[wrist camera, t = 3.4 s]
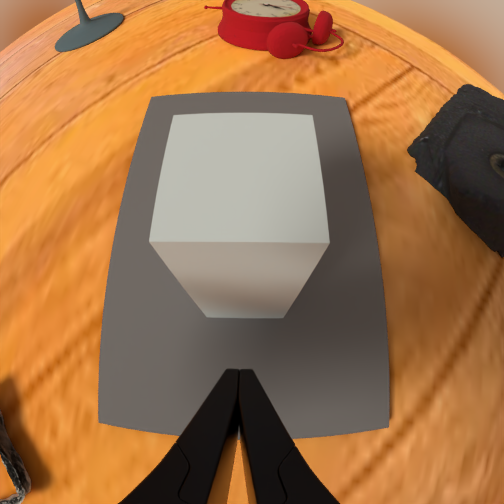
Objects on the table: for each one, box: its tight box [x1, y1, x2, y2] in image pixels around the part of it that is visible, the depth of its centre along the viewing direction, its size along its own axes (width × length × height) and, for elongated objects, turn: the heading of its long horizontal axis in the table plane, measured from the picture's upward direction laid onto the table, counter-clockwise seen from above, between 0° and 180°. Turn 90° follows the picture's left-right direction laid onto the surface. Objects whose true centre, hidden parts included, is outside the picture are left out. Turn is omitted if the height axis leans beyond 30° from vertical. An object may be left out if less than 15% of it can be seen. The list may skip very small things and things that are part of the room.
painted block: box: [149, 113, 330, 318], centre depth 12 cm, size 4×4×10 cm
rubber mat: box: [98, 92, 389, 440], centre depth 18 cm, size 24×16×1 cm, turn 0°
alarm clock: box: [204, 0, 344, 59], centre depth 25 cm, size 10×6×15 cm
